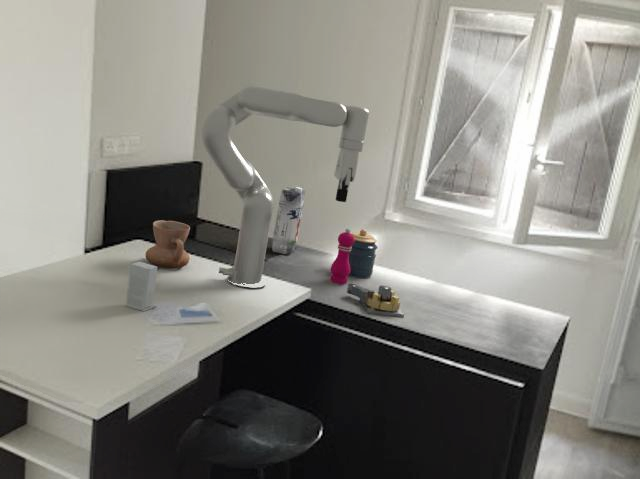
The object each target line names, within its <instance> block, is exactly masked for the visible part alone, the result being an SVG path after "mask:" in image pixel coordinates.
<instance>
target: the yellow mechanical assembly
mask: <svg viewBox="0 0 640 479" xmlns="http://www.w3.org/2000/svg"><path fill="white" fill-rule="evenodd" d="M346 293H347V294H349V295H352V296H355V297H357V298H358V299H359V300H360V299H363V300H365V302H366V303H367V305H369V306H372V307H374V308H377V309H381V310H388V311H394V310H398V309H400V306H401V301H400V297H399V296H397V295H395V293H396V291H394V290H393V289H391V293H390V298H389V302H384V301H380V297H381V295H380V294H378V292H375V291H374V290H372V289H369V288H365V287H362V286H360V285H357V284H354V283H348V284H347V290H346Z"/></svg>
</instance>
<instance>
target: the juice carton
mask: <svg viewBox="0 0 640 479" xmlns="http://www.w3.org/2000/svg"><path fill="white" fill-rule="evenodd" d="M305 194H306V191H305V190H303V188H302V187H299V186H296V187H295V188H292V187H285V188H284V189H281V193H280V196H279V202H278V206H277V213H276V219H275V226H274V231H273V238H272V243H271V244H272V245H271V246H272V247H271V248H272V252H273V253H279V254H283V255H287V256H290V255H291V254H292V253H293V252H294V251H295V248H296V246H297V243H298V238H299V233H300V226H301V221H302V215H303V209H304V205H305V204H304V202H305Z"/></svg>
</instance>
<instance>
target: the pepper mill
mask: <svg viewBox="0 0 640 479" xmlns="http://www.w3.org/2000/svg"><path fill="white" fill-rule="evenodd" d="M337 241H338V244H337V249H338V250H337V251H338V252H337V256H336V257H335V259H334V260H333V262H332V264H331V265H330V272H331V275H330V277H329V282H332V283H334V284H336V285H346V284H347V283H348V277H349V274H350V264H349V252H350V251H351V248H352V247H351V246H352V245H353V244H354V241H355V239H354V236H353V235H352V233H351V229H350V228H347V227H346V228H345V232H342V233H341V232H340V234H339V235H338V237H337Z"/></svg>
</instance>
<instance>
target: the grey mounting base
mask: <svg viewBox="0 0 640 479" xmlns="http://www.w3.org/2000/svg"><path fill="white" fill-rule="evenodd" d="M391 290H392V288H391V287H390V286H388V285H384V284H383V285H379V287H378V292H377V293H378V294H380V295H381V297H380V301H384V302H389V298H390V293H391ZM359 303H360V305H361V306H362V307H363V308H364V310H365V311H366V312H367V314H371V315H380V316H381V315H382V316H387V317H388V316H390V317H398V318H404V316H405V314H404V312H403V311H402V309H400V308H399V309H398V310H394V311H388V310H381V309H377V308H374V307H372V306H369V305H367V303H366V302H365V300H363V299H360V298H359Z"/></svg>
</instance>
